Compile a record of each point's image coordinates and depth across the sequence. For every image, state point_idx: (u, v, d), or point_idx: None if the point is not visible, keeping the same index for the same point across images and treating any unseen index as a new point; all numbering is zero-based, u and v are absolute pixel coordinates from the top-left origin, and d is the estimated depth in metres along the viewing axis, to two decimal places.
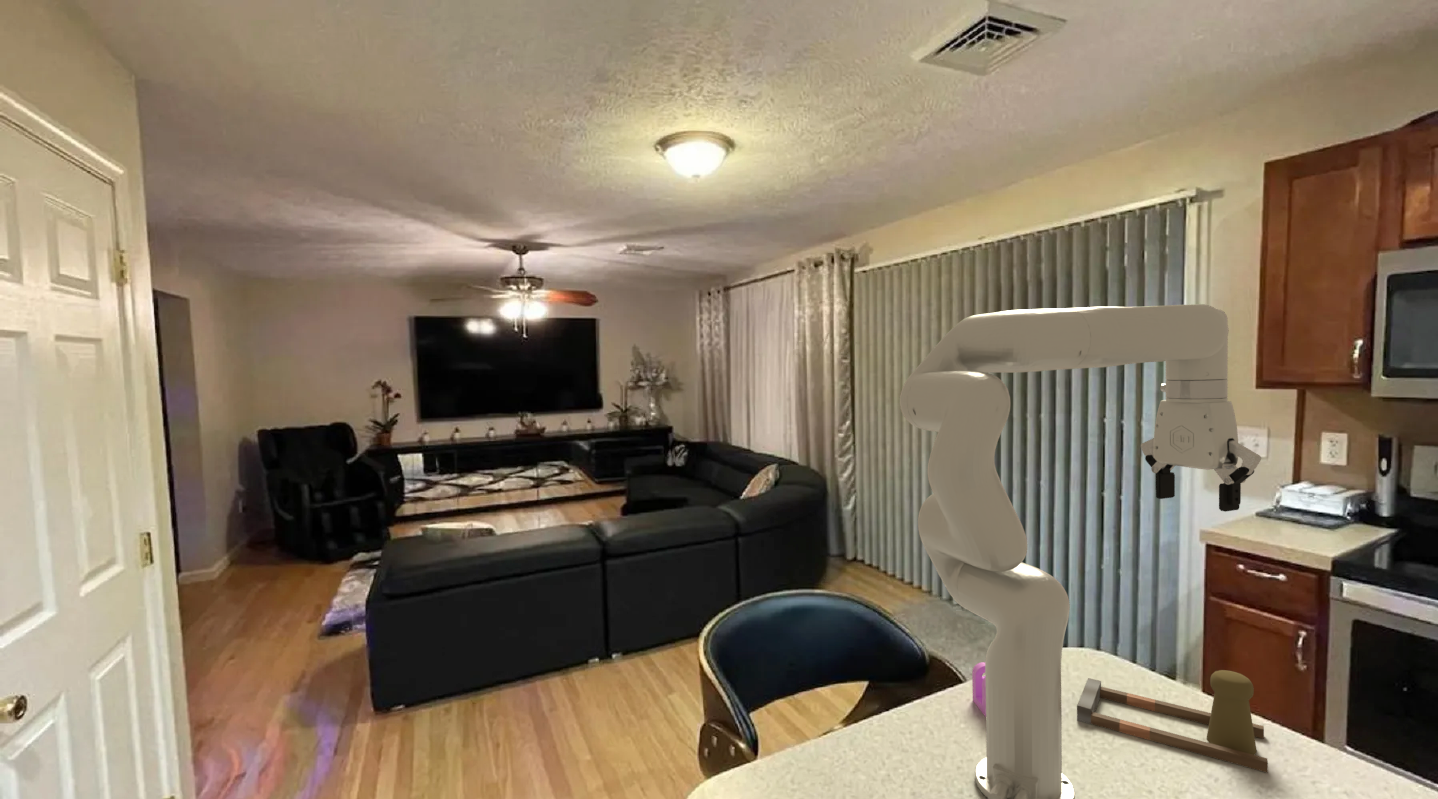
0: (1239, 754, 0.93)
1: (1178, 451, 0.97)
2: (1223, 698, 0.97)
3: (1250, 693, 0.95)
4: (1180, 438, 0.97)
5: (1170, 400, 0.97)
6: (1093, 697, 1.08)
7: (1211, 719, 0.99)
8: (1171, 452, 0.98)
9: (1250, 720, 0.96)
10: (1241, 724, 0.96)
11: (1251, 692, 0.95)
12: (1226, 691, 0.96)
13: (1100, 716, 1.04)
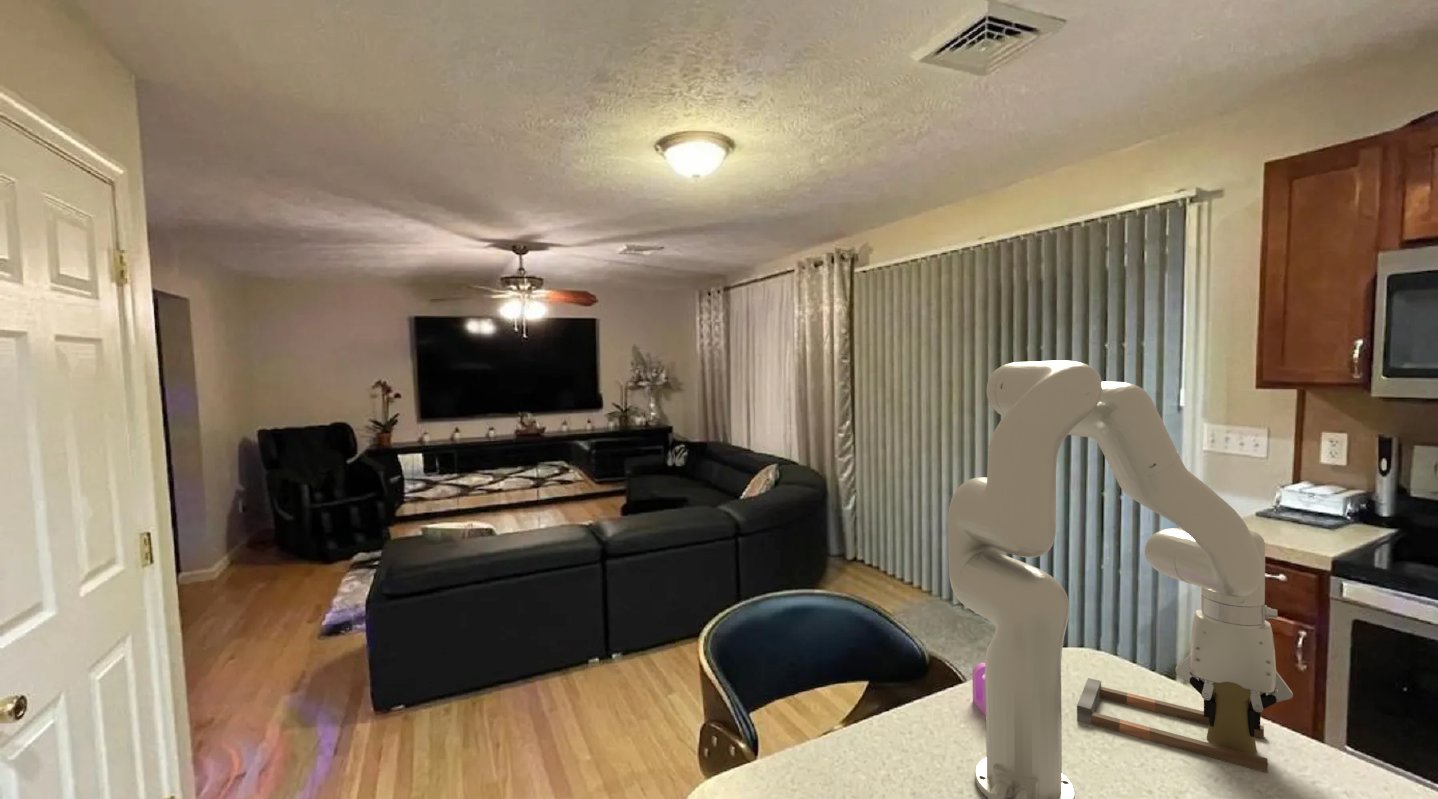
0: (1239, 754, 0.93)
1: None
2: (1223, 698, 0.97)
3: (1250, 693, 0.95)
4: None
5: None
6: (1093, 697, 1.08)
7: None
8: None
9: None
10: (1241, 724, 0.96)
11: None
12: (1226, 691, 0.96)
13: (1100, 716, 1.04)
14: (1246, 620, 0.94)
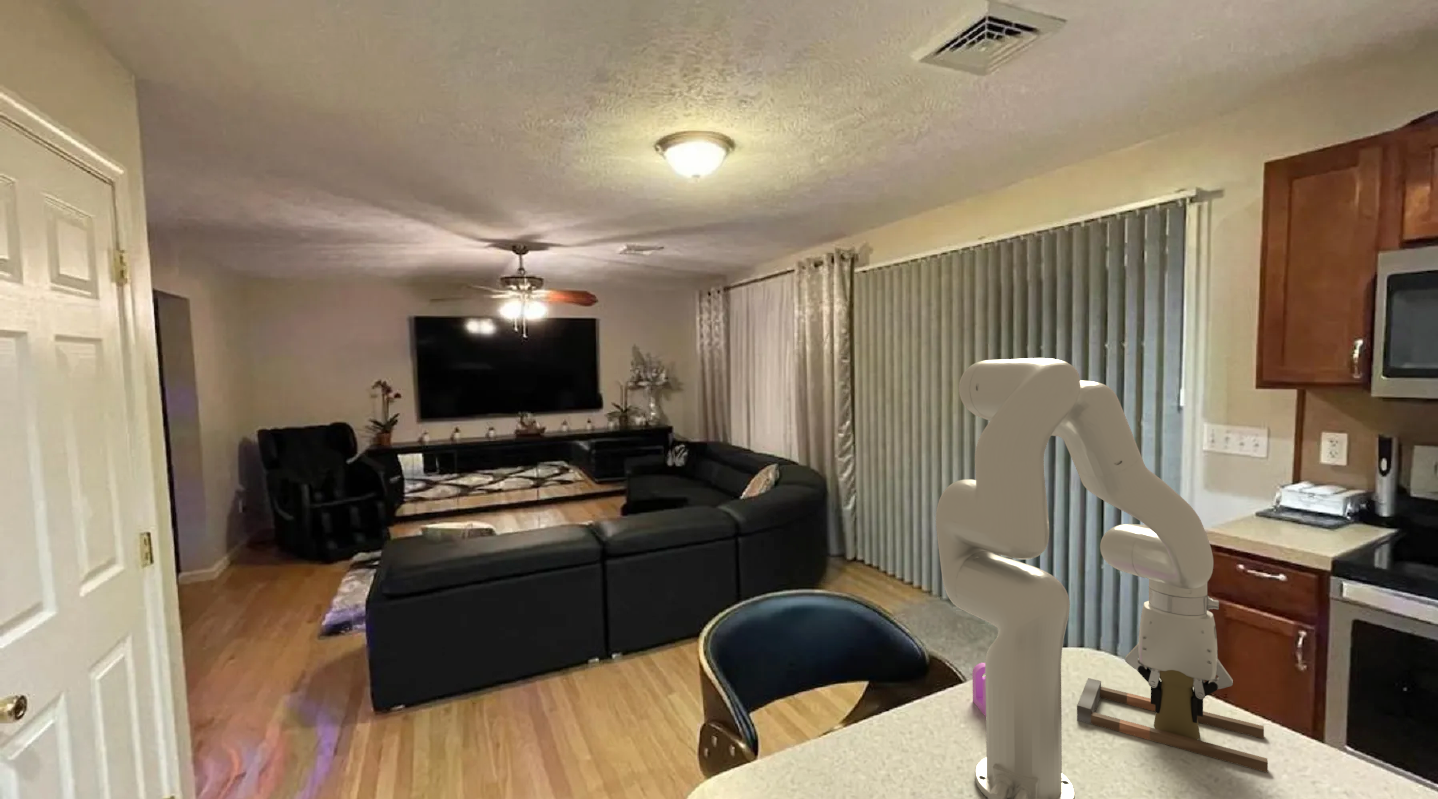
0: (1239, 754, 0.93)
1: None
2: (1168, 685, 1.01)
3: (1193, 681, 0.99)
4: None
5: None
6: (1093, 697, 1.08)
7: None
8: None
9: None
10: (1184, 711, 1.00)
11: None
12: (1170, 679, 1.00)
13: (1100, 716, 1.04)
14: (1188, 610, 0.98)
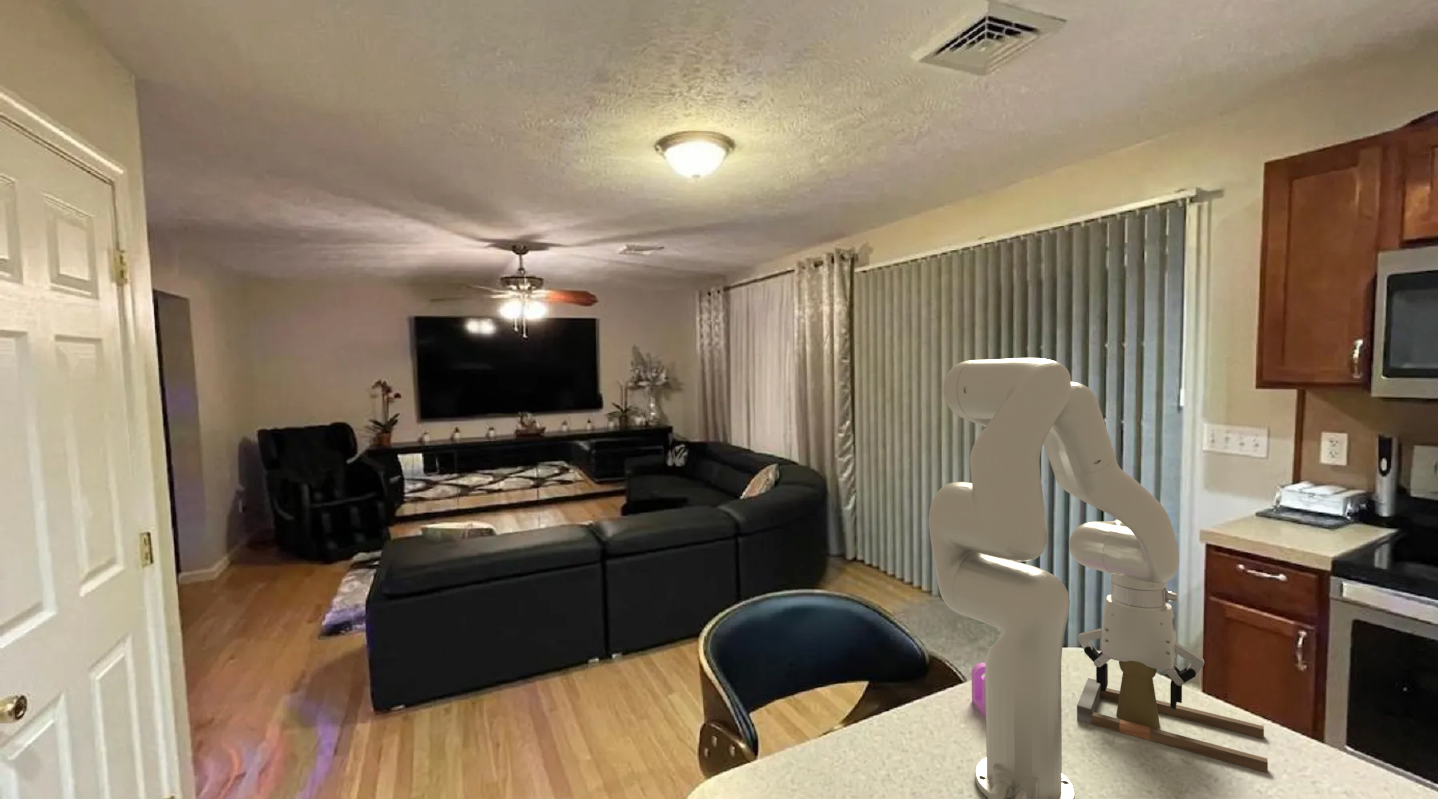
0: (1239, 754, 0.93)
1: None
2: (1129, 676, 1.04)
3: (1152, 672, 1.03)
4: None
5: None
6: (1093, 697, 1.08)
7: (1119, 697, 1.06)
8: None
9: (1153, 697, 1.03)
10: (1144, 701, 1.03)
11: (1153, 671, 1.03)
12: (1131, 670, 1.04)
13: (1100, 716, 1.04)
14: (1147, 603, 1.01)
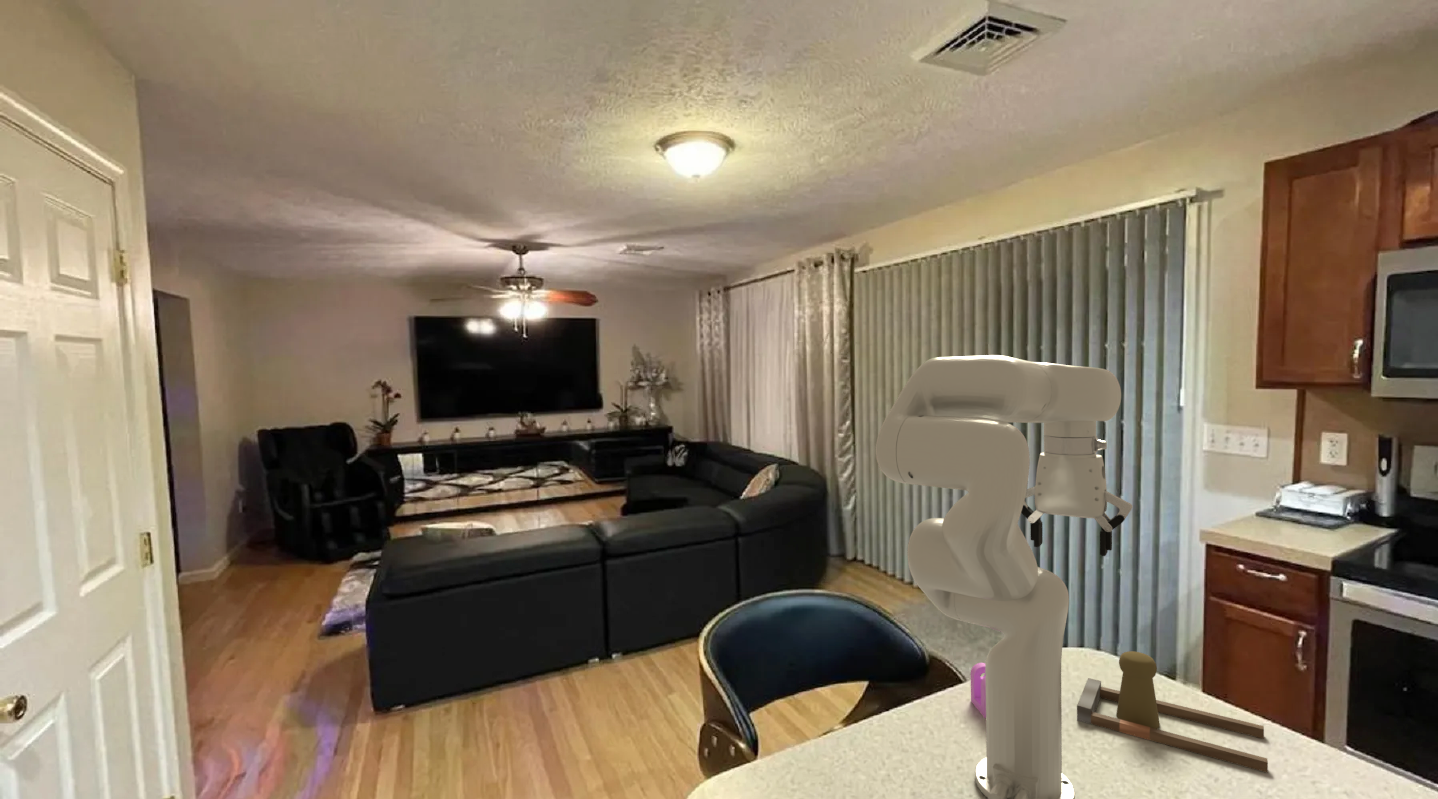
0: (1239, 754, 0.93)
1: None
2: (1129, 676, 1.04)
3: (1152, 672, 1.03)
4: None
5: None
6: (1093, 697, 1.08)
7: (1119, 697, 1.06)
8: None
9: (1153, 697, 1.03)
10: (1144, 701, 1.03)
11: (1153, 671, 1.03)
12: (1131, 670, 1.04)
13: (1100, 716, 1.04)
14: (1077, 450, 1.01)
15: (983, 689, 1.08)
